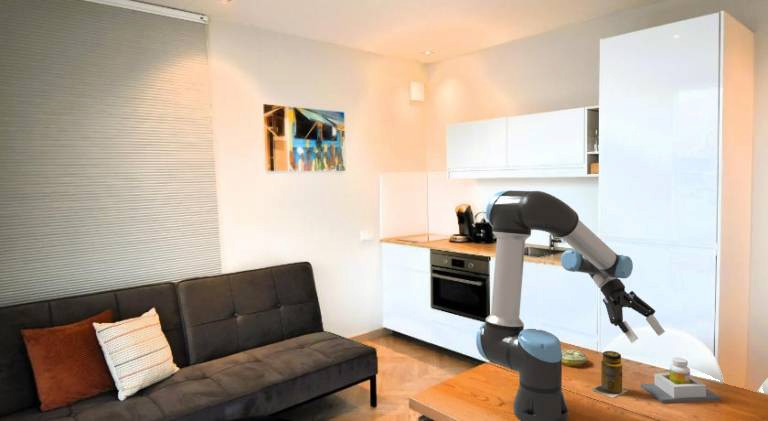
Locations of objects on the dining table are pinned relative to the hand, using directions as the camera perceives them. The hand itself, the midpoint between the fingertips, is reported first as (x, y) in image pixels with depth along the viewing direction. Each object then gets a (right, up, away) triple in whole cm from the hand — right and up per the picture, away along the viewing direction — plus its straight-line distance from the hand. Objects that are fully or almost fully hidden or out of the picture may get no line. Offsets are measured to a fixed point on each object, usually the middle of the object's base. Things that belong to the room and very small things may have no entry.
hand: (648, 337), depth 157 cm
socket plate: (+5, -15, -8) cm, 18 cm away
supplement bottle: (+5, -15, -8) cm, 17 cm away
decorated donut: (-18, -15, +19) cm, 30 cm away
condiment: (-15, -16, -5) cm, 22 cm away
